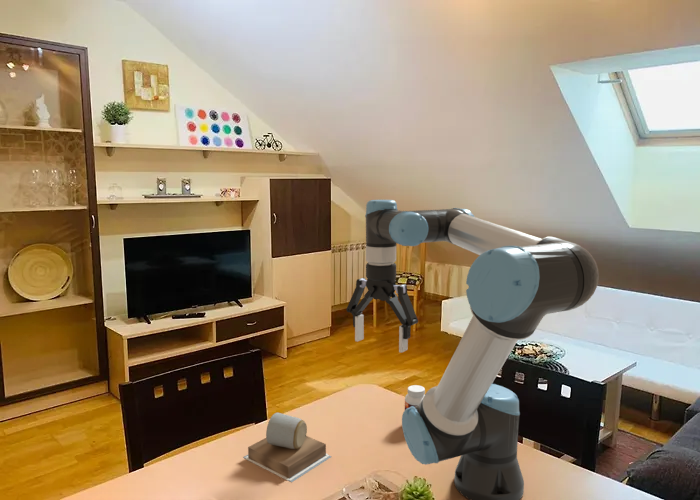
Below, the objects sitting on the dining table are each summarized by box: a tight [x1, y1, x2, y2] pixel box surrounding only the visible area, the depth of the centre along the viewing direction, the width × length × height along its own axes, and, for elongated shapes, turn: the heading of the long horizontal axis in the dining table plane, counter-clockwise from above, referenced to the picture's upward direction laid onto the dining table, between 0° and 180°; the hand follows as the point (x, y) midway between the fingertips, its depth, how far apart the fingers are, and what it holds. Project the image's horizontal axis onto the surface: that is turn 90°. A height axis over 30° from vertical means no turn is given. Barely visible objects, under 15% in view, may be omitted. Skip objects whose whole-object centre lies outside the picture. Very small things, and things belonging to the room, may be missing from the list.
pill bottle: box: [404, 384, 426, 411], centre depth 148 cm, size 6×6×11 cm
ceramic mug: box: [265, 412, 308, 449], centre depth 133 cm, size 11×8×8 cm
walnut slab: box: [247, 435, 327, 478], centre depth 132 cm, size 14×13×3 cm
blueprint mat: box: [242, 452, 332, 483], centre depth 133 cm, size 17×14×1 cm
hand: (380, 345), depth 135 cm, fingers open, 13 cm apart
